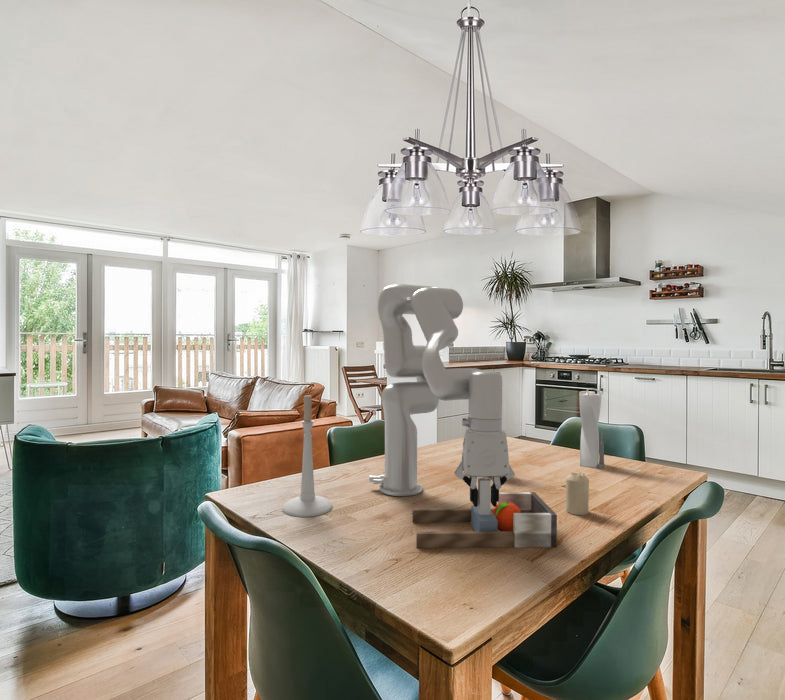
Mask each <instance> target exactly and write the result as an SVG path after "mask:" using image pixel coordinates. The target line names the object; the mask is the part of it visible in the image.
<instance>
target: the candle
mask: <svg viewBox="0 0 785 700" xmlns="http://www.w3.org/2000/svg"><path fill="white" fill-rule="evenodd" d="M589 484H590V480H589V478H588V477H587V476H586V475H585V473H584V472H578V473H576V472H575V473H574V472H570V473H569V474H568V475H567V476H566V477H565V511H566V512H567V513H568V514H572V515H577V516H585V515H587V514H589V499H590V498H589V495H590V491H589V489H590V485H589Z"/></svg>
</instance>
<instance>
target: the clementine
mask: <svg viewBox="0 0 785 700" xmlns="http://www.w3.org/2000/svg"><path fill="white" fill-rule="evenodd" d="M493 509H494V510H493V512H492V513H493V514H494V516H495V517H496V519H497V521H498V531H513V517H514V513H521V511H520V509H519V508H518V507H517V506H516V505H515V504H513V503H510V502H502V503H500V504H498V503H497V507H494V508H493Z"/></svg>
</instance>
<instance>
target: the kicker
mask: <svg viewBox="0 0 785 700" xmlns="http://www.w3.org/2000/svg"><path fill="white" fill-rule="evenodd" d="M491 483H492V482H491V479H490V477H477V489H478V506H477V507H474V505H471V506H470V507H471V508H470V509H471V523H470V524H471V527H472V529H473V531H499V530H498V521H497V519H496V517H495V516H494V514H493V513H492V511H491V509H492V508H491V486H492V484H491Z"/></svg>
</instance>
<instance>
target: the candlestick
mask: <svg viewBox="0 0 785 700" xmlns="http://www.w3.org/2000/svg"><path fill="white" fill-rule="evenodd" d="M312 409H313V408H312V395H309V394H307V395H304V396H303V420H301V421H300V422H301V424H302V429H303V431H304V433H303V447H302V449H303V450H302V462H301V463H302V467H301V483H300V484H301V485H300V496H296V497H293V498H290V499H289V500H287V501H286V502H285V503H284V504H283V506H282V512H283V513H285V514H286V515H289V516H292V517H297V518H298V517H299V518H300V517H301V518H304V517H305V518H309V517H315V516H316V517H317V516H321V515H323V514H324V515H325V514H327V513H329V512H330V511H331V510H332V509H333V503H332V502H331V500H329V499H328V498H326V497H324V496H320V495H316V493H315V483H314V481H315V479H314V477H315V476H314V463H313V462H314V458H313V439H312V435H313V434H312V433H311V432H312V429H313V427H314V425H313V423H315V420H313V419H312Z"/></svg>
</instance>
